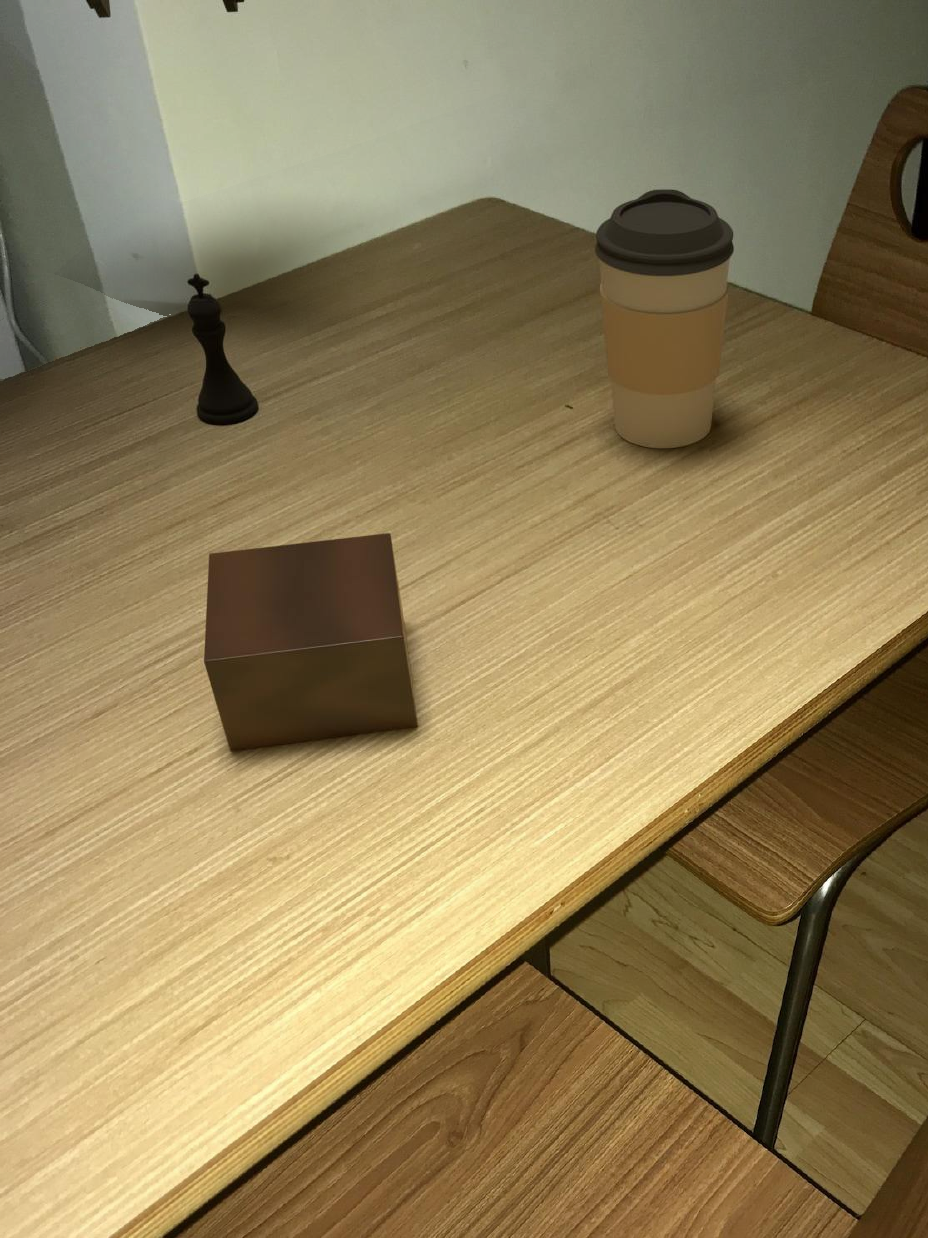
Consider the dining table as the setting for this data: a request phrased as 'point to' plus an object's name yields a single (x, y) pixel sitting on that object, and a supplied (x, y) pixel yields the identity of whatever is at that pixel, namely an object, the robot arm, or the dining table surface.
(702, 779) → the dining table surface
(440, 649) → the dining table surface
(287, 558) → the brown metal block
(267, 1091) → the dining table surface
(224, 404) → the chess piece
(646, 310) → the coffee cup
